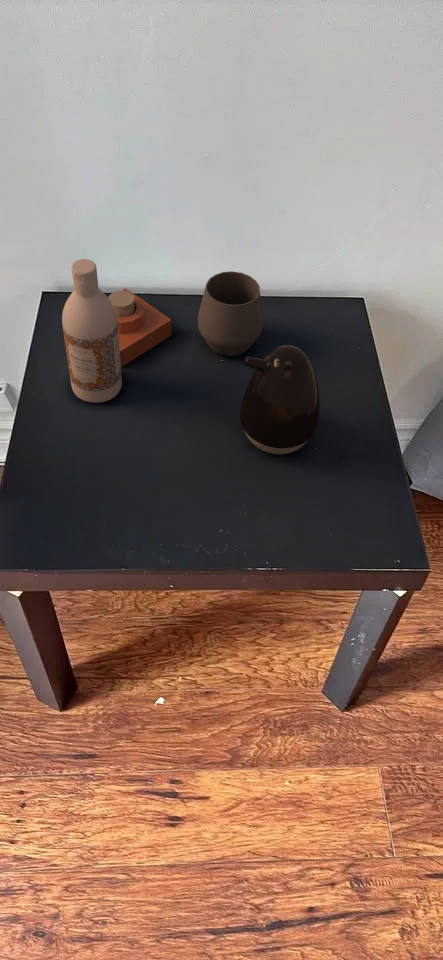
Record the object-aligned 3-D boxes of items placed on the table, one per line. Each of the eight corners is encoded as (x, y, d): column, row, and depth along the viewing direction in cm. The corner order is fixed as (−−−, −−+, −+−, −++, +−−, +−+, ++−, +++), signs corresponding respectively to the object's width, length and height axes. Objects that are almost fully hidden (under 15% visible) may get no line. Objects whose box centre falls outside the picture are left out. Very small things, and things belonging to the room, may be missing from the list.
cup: (185, 349, 110) (186, 294, 102) (216, 314, 115) (219, 259, 107) (242, 373, 107) (247, 318, 99) (271, 336, 112) (278, 281, 105)
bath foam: (62, 396, 103) (43, 274, 87) (86, 363, 107) (71, 242, 91) (108, 410, 101) (97, 290, 86) (130, 377, 106) (123, 257, 90)
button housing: (120, 367, 107) (119, 340, 103) (75, 333, 111) (72, 306, 107) (171, 335, 111) (171, 308, 108) (126, 303, 115) (124, 276, 111)
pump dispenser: (232, 410, 103) (240, 324, 91) (306, 407, 104) (324, 322, 92) (240, 468, 96) (250, 383, 84) (320, 464, 97) (340, 380, 86)
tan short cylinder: (121, 321, 106) (120, 310, 104) (104, 309, 107) (103, 297, 106) (139, 310, 108) (139, 298, 106) (123, 298, 109) (122, 287, 107)
